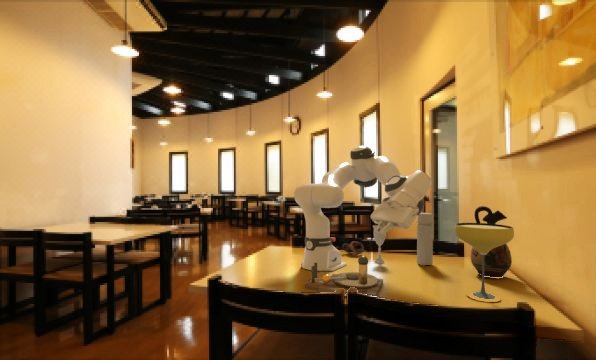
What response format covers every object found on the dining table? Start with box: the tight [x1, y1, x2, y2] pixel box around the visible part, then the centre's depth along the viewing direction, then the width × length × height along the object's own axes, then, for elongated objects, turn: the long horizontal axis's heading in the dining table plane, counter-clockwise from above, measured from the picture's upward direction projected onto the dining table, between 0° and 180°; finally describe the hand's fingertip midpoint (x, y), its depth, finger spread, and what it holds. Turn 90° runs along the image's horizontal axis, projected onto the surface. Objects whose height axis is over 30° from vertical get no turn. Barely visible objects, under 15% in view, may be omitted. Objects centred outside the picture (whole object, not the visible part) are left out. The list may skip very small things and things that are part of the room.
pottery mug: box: [341, 240, 365, 257], centre depth 190 cm, size 12×10×8 cm
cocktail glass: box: [454, 222, 515, 299], centre depth 120 cm, size 18×18×25 cm
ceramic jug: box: [470, 205, 513, 277], centre depth 148 cm, size 17×15×30 cm
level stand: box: [304, 263, 384, 297], centre depth 130 cm, size 20×26×8 cm
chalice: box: [372, 224, 387, 265], centre depth 172 cm, size 7×7×18 cm
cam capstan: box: [321, 255, 377, 288], centre depth 128 cm, size 17×22×11 cm
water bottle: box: [416, 212, 434, 266], centre depth 169 cm, size 9×8×25 cm
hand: (379, 232), depth 126 cm, fingers closed
